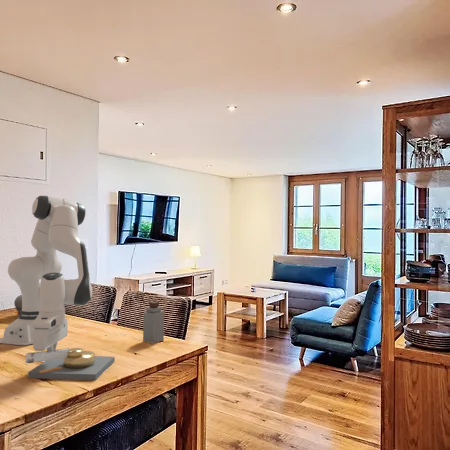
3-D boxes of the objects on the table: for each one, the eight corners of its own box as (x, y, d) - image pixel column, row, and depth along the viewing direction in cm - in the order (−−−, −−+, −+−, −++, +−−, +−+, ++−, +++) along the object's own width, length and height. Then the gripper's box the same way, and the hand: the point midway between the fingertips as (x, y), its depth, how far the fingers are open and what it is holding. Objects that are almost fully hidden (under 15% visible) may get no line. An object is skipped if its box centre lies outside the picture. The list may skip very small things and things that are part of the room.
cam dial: (91, 357, 159) (91, 342, 159) (97, 365, 150) (98, 349, 150) (24, 366, 147) (24, 350, 147) (26, 376, 138) (27, 358, 138)
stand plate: (27, 378, 142) (27, 371, 142) (55, 359, 162) (55, 354, 162) (95, 380, 141) (95, 374, 141) (114, 361, 161) (114, 355, 161)
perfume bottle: (153, 343, 188) (154, 304, 188) (143, 341, 191) (143, 302, 192) (163, 340, 194) (164, 302, 194) (152, 338, 197) (153, 300, 197)
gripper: (56, 311, 160) (55, 347, 160) (29, 324, 140) (28, 364, 140) (72, 312, 160) (71, 347, 160) (47, 324, 139) (47, 365, 139)
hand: (51, 355), depth 150 cm, fingers closed
